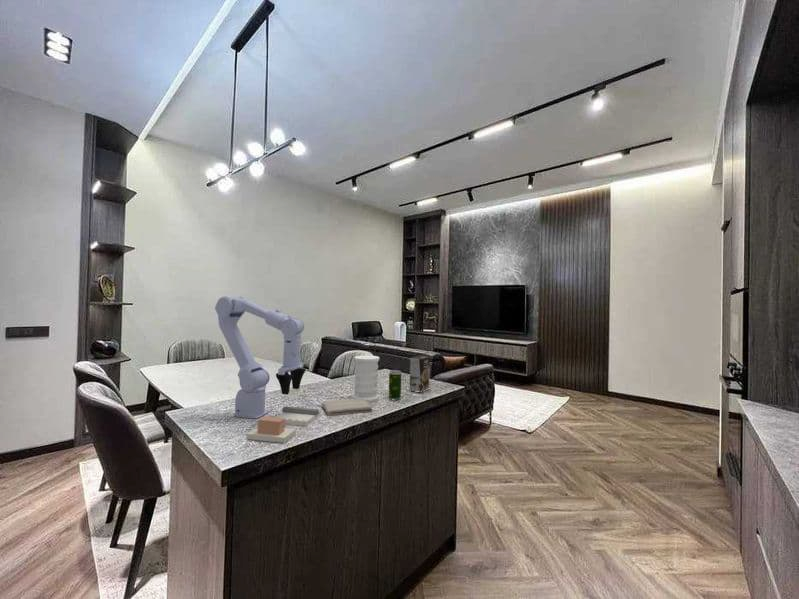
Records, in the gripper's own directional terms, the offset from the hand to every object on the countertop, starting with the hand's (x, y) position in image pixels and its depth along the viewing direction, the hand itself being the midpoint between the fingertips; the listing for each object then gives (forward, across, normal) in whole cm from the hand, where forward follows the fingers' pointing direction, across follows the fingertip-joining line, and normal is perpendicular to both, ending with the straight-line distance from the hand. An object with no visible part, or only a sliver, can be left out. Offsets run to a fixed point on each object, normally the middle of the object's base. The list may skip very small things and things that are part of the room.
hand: (290, 391), depth 121 cm
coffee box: (+10, +52, -40) cm, 66 cm away
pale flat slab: (+9, -17, -3) cm, 19 cm away
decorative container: (+10, +31, -19) cm, 38 cm away
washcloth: (+10, +15, -16) cm, 24 cm away
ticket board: (+9, 0, -3) cm, 10 cm away
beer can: (+10, +35, -31) cm, 48 cm away
